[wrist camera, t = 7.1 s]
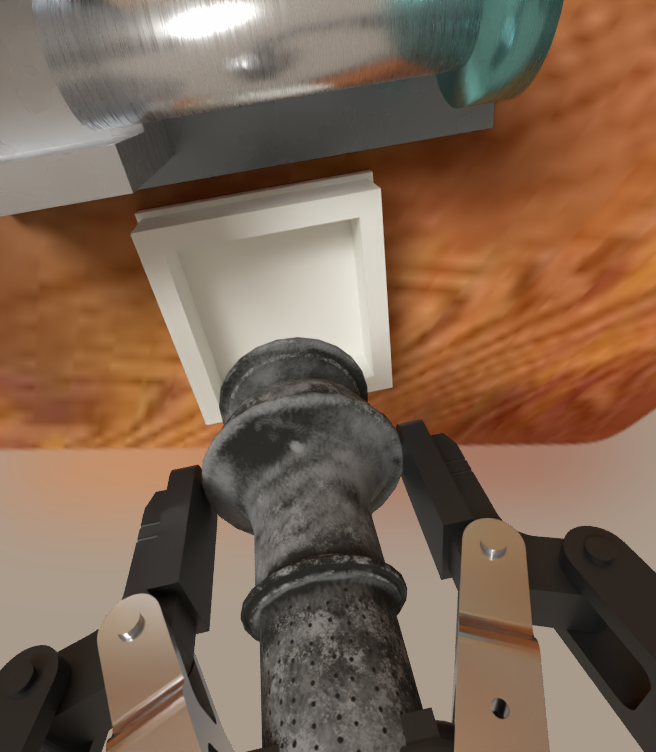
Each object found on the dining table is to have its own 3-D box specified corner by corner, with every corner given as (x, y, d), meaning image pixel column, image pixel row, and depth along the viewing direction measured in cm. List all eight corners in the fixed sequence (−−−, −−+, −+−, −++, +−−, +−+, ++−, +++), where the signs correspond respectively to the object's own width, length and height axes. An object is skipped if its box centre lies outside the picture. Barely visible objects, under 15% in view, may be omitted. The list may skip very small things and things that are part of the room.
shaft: (481, -99, 13) (590, -187, 9) (471, 98, 16) (550, 102, 12) (57, -36, 12) (-40, -97, 8) (127, 157, 15) (82, 183, 11)
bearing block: (499, -129, 15) (706, -309, 8) (482, 126, 20) (608, 147, 13) (-132, -37, 14) (-494, -155, 7) (4, 209, 19) (-140, 281, 12)
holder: (369, 169, 20) (386, 181, 18) (383, 362, 27) (397, 390, 24) (137, 210, 20) (121, 228, 17) (207, 397, 26) (203, 429, 24)
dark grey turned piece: (342, 470, 18) (462, 952, 8) (196, 450, 16) (112, 1046, 6) (401, 350, 15) (706, 875, 5) (231, 309, 13) (179, 1008, 3)
